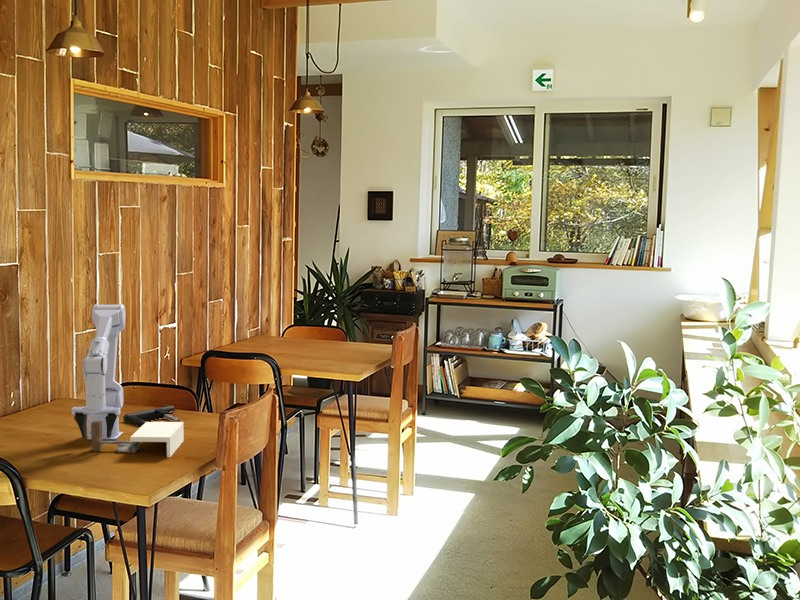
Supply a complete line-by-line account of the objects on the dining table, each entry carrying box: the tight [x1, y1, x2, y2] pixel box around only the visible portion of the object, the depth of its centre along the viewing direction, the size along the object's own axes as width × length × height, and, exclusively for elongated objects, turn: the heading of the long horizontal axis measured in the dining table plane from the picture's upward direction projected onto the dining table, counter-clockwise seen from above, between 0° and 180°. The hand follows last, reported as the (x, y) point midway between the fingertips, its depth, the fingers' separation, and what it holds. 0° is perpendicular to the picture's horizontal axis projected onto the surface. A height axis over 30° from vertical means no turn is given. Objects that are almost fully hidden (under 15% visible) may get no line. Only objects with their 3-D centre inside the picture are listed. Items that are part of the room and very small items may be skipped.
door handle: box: [122, 405, 181, 427], centre depth 299 cm, size 3×20×16 cm
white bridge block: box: [129, 421, 185, 458], centre depth 265 cm, size 12×18×6 cm, turn 1°
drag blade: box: [91, 421, 141, 454], centre depth 262 cm, size 14×6×9 cm, turn 92°
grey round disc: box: [116, 444, 131, 453], centre depth 263 cm, size 5×5×2 cm
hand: (96, 436), depth 262 cm, fingers open, 7 cm apart
